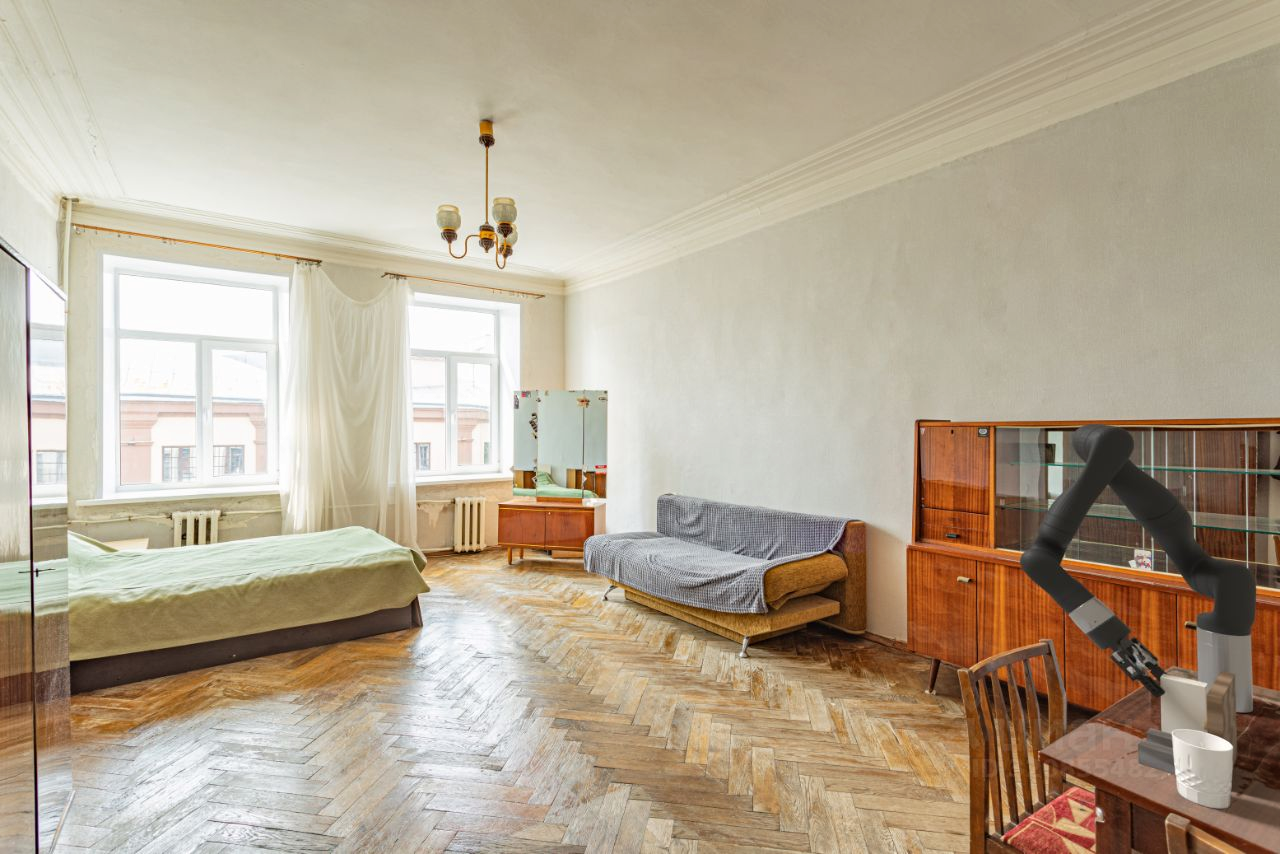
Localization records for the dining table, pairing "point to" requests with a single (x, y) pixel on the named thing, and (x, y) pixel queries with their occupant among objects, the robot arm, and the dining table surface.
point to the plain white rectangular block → (1183, 704)
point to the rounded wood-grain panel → (1217, 723)
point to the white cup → (1203, 767)
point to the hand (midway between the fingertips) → (1165, 689)
